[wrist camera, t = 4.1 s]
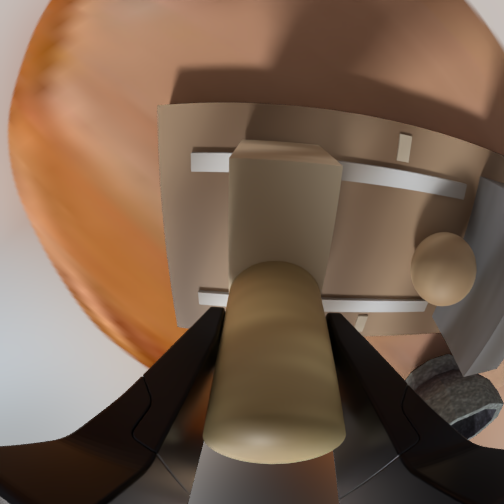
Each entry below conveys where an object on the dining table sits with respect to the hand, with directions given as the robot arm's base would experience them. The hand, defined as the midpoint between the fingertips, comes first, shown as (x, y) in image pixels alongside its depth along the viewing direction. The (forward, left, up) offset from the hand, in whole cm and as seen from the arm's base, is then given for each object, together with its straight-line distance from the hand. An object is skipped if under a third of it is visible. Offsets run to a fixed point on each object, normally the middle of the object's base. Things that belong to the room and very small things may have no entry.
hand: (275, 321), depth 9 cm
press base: (-4, 0, -7) cm, 8 cm away
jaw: (0, 0, -5) cm, 5 cm away
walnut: (-8, 0, -5) cm, 10 cm away
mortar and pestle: (-15, +14, -7) cm, 22 cm away
